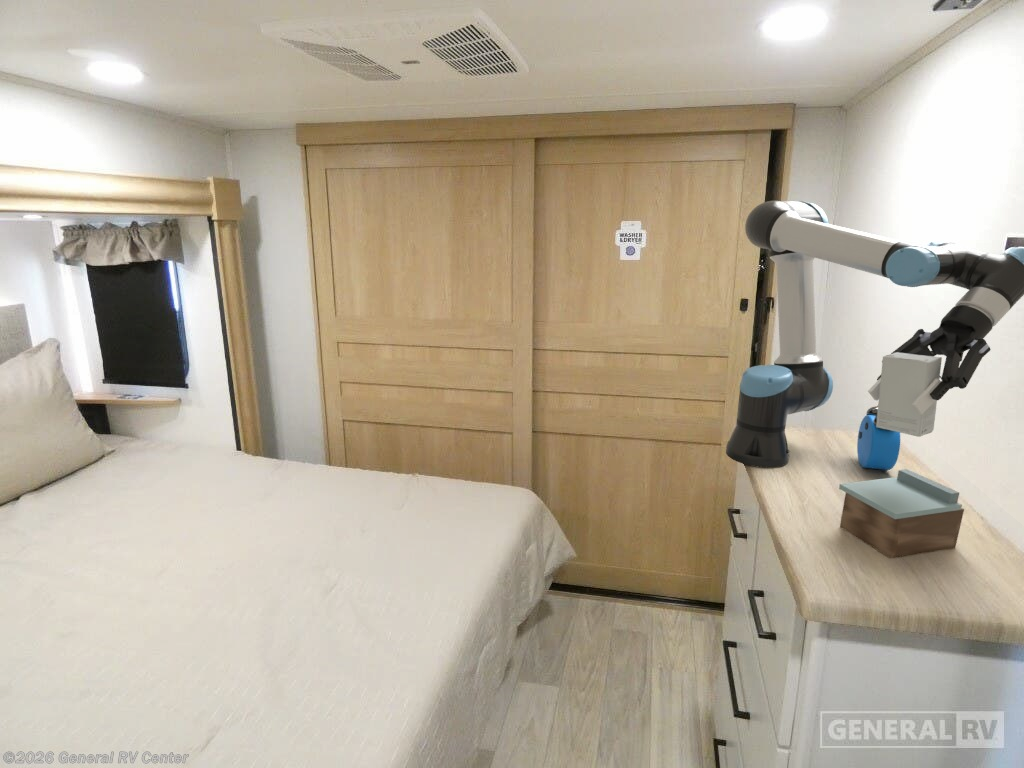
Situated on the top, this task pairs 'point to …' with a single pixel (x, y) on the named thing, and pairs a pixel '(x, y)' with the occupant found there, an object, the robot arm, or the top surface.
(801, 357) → the robot arm
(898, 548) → the box
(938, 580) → the top surface
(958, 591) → the top surface
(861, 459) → the alarm clock
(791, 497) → the top surface
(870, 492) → the lid
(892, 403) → the skincare box
